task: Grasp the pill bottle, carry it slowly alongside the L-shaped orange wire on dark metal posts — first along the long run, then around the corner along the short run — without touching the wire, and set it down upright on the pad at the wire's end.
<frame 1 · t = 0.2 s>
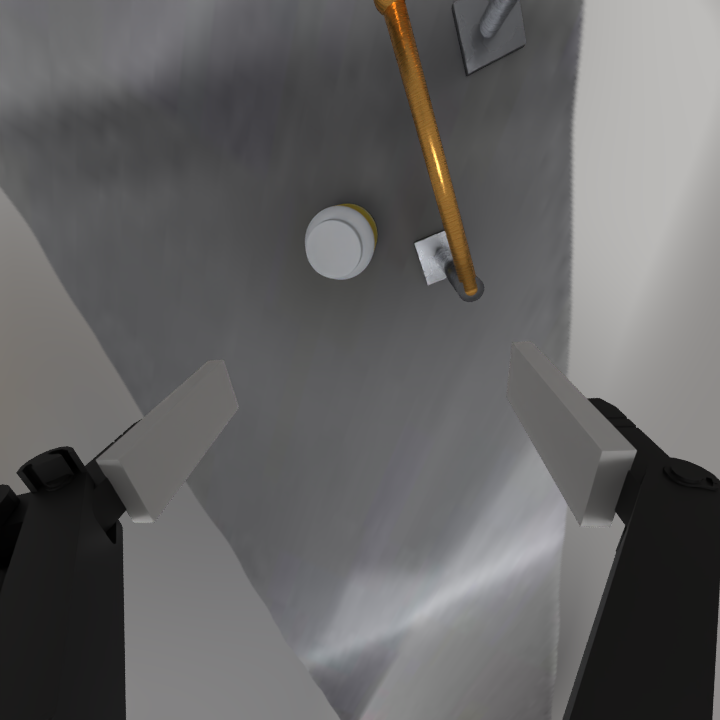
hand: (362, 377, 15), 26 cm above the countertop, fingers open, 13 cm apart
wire: (390, 81, 30), on the countertop
pill bottle: (349, 234, 37), on the countertop
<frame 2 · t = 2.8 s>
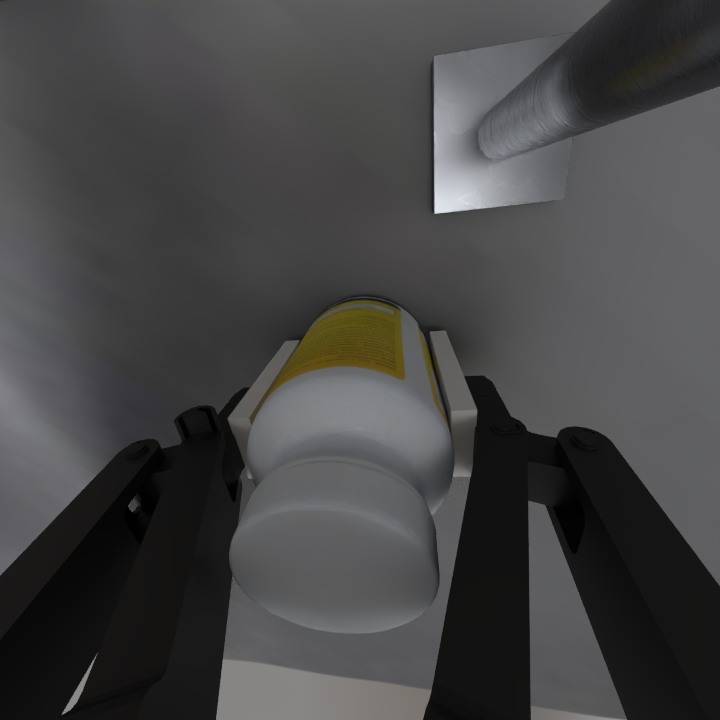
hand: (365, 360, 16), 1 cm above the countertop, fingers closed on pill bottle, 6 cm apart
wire: (110, 189, 15), on the countertop
pill bottle: (367, 350, 18), on the countertop, touching gripper
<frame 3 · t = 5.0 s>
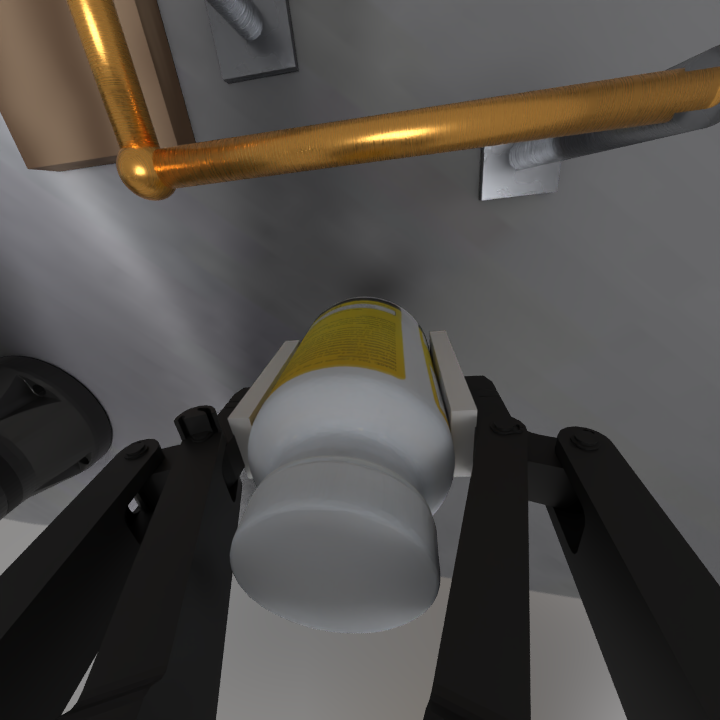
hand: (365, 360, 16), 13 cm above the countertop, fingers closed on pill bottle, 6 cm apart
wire: (283, 186, 25), on the countertop
pad: (96, 79, 23), on the countertop
pill bottle: (367, 350, 18), point 11 cm above the countertop, touching gripper
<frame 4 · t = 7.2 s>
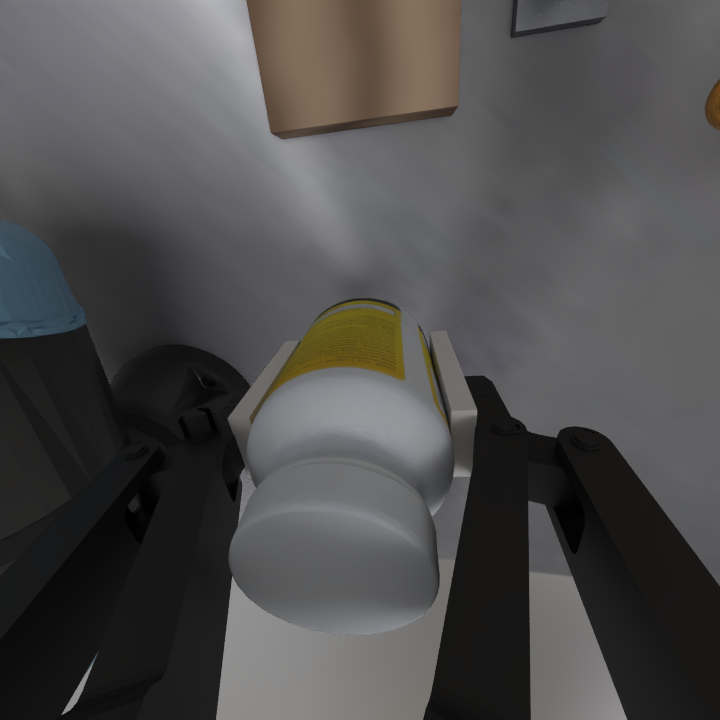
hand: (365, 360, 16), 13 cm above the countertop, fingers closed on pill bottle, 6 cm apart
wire: (539, 155, 23), on the countertop
pad: (356, 32, 21), on the countertop
pill bottle: (367, 351, 18), point 12 cm above the countertop, touching gripper
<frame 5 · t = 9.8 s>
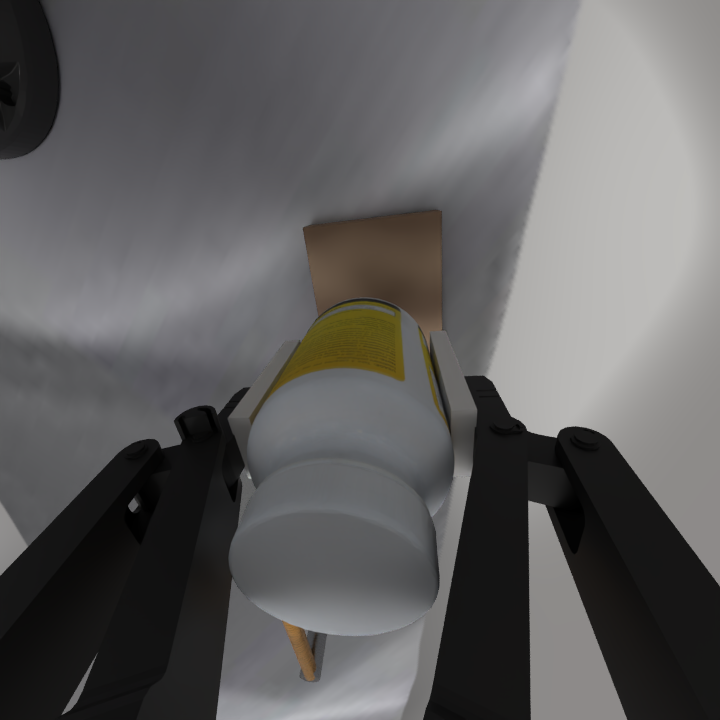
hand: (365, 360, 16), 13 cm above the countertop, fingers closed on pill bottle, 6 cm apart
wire: (313, 410, 34), on the countertop
pad: (378, 292, 28), on the countertop
pill bottle: (367, 351, 18), point 12 cm above the countertop, touching gripper
when the fingers open (5 cm above the countertop, at t = 11.7 s): pill bottle drops 1 cm, resting on pad.
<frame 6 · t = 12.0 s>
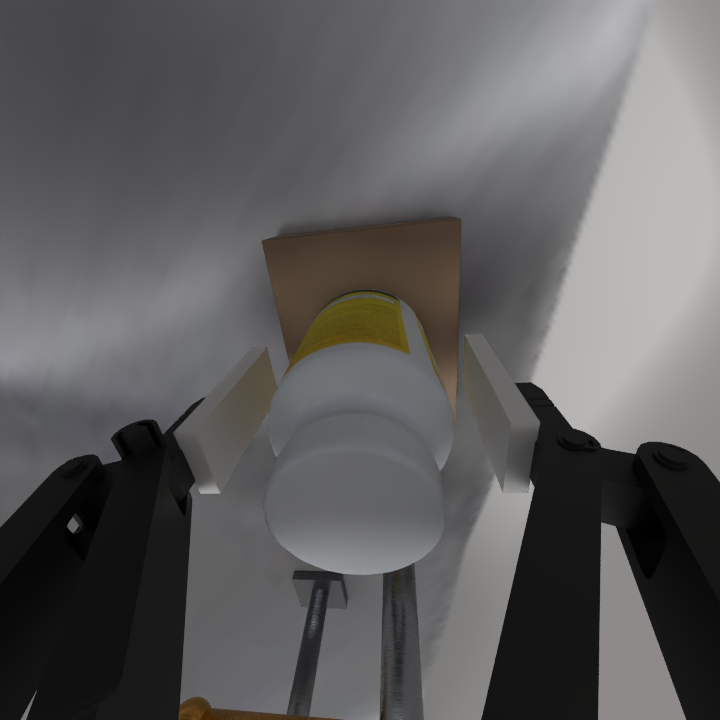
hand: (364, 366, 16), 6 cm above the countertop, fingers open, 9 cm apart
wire: (289, 467, 27), on the countertop
pad: (371, 326, 21), on the countertop
pill bottle: (367, 340, 19), point 2 cm above the countertop, touching pad
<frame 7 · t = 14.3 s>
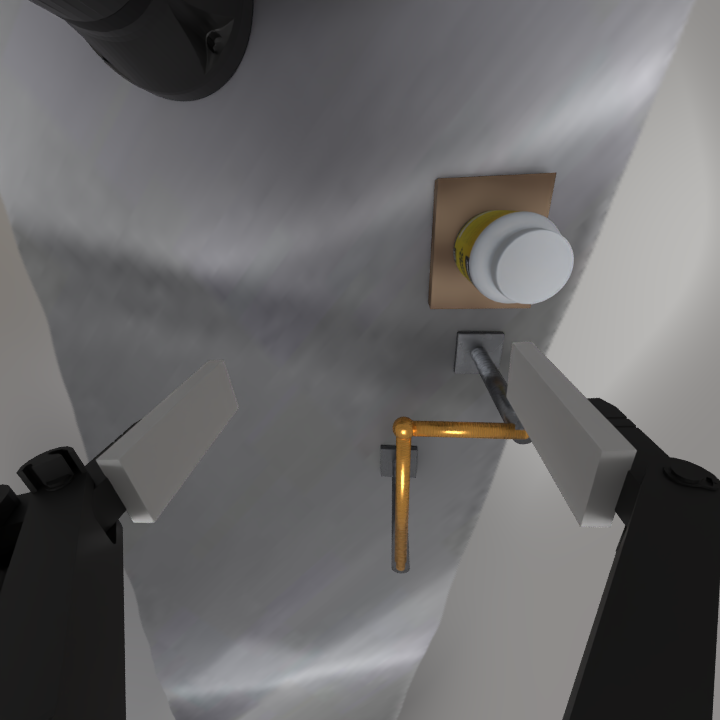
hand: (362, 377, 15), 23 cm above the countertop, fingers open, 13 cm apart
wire: (400, 351, 39), on the countertop
pad: (480, 244, 33), on the countertop
pill bottle: (486, 247, 31), point 2 cm above the countertop, touching pad
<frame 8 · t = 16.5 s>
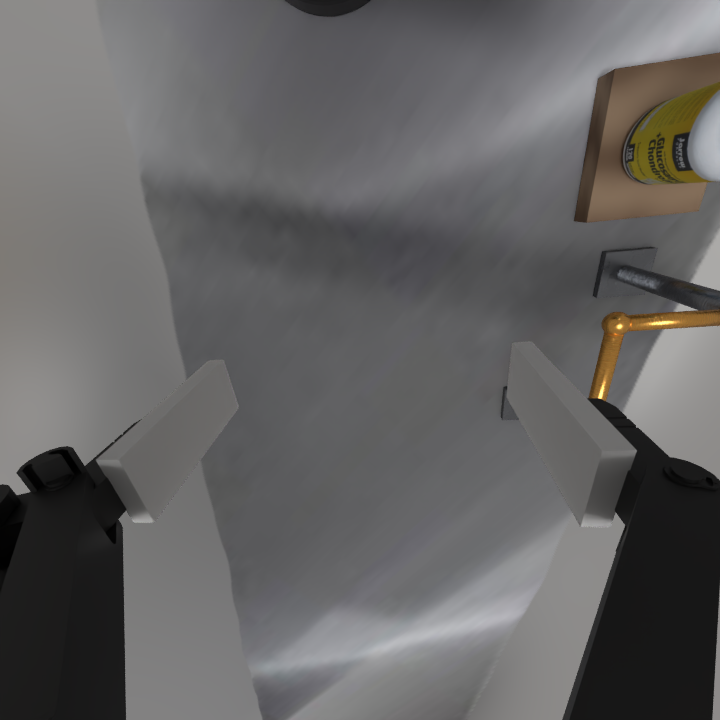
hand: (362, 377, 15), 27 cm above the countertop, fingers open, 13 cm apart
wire: (537, 279, 38), on the countertop
pad: (640, 148, 31), on the countertop
pill bottle: (657, 145, 29), point 2 cm above the countertop, touching pad
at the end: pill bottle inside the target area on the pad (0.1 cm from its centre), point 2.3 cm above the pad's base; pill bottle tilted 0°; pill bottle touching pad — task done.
